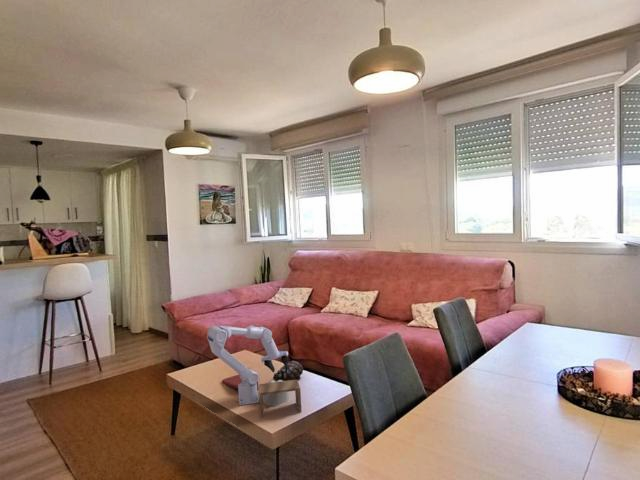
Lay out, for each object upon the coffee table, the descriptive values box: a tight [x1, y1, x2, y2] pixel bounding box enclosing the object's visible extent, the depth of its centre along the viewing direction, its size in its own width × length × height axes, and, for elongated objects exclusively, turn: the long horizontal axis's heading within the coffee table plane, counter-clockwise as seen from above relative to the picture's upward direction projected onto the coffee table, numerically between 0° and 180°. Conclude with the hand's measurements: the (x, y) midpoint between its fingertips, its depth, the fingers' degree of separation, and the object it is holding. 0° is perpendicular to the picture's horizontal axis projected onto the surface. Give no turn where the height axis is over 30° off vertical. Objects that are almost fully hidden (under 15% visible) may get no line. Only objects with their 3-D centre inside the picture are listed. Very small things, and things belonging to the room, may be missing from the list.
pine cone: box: [272, 360, 304, 381], centre depth 216 cm, size 10×18×10 cm, turn 137°
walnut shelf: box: [258, 380, 302, 419], centre depth 183 cm, size 18×10×12 cm, turn 102°
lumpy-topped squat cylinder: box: [263, 380, 290, 407], centre depth 194 cm, size 10×13×9 cm
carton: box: [221, 374, 259, 392], centre depth 214 cm, size 12×5×25 cm
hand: (280, 369), depth 205 cm, fingers open, 7 cm apart
